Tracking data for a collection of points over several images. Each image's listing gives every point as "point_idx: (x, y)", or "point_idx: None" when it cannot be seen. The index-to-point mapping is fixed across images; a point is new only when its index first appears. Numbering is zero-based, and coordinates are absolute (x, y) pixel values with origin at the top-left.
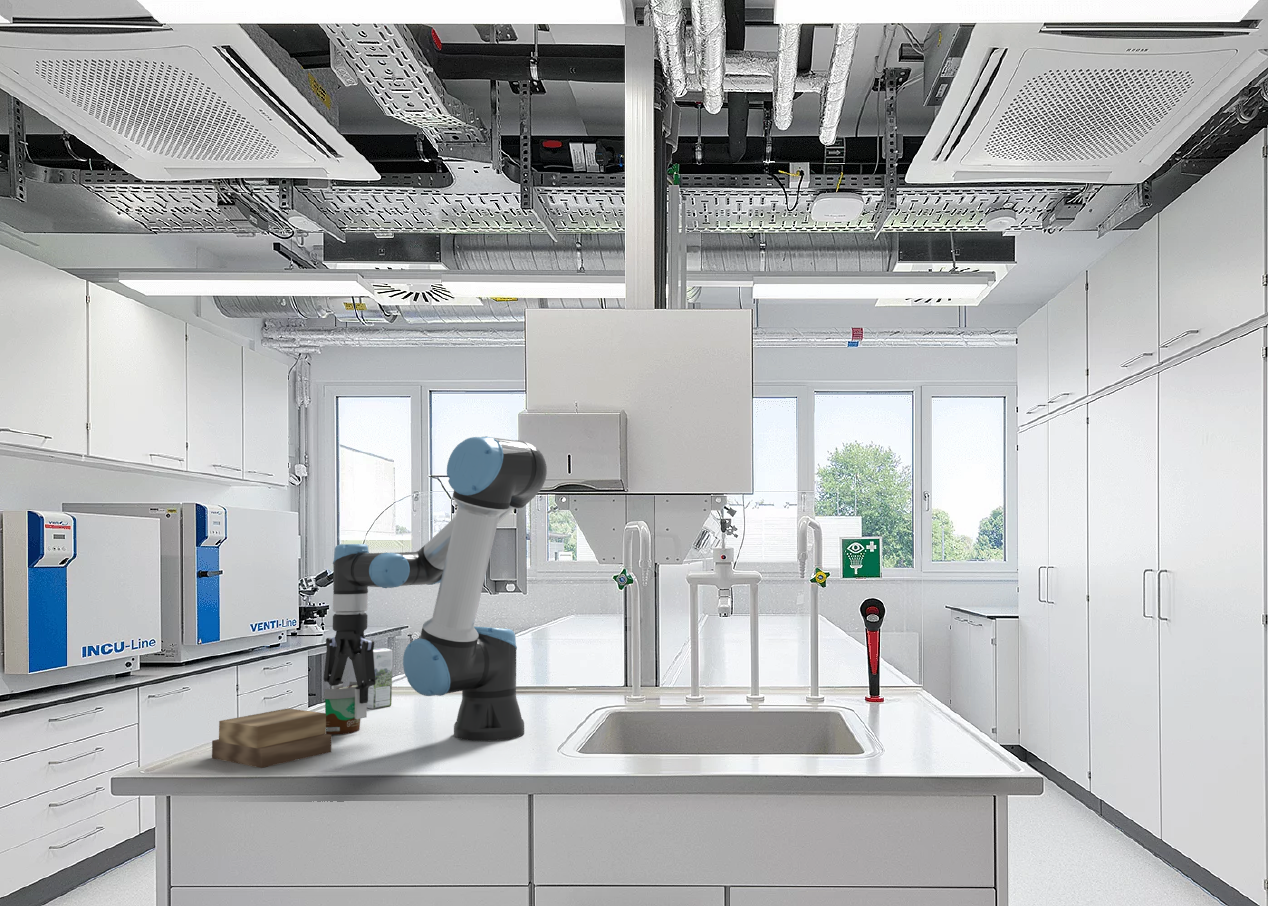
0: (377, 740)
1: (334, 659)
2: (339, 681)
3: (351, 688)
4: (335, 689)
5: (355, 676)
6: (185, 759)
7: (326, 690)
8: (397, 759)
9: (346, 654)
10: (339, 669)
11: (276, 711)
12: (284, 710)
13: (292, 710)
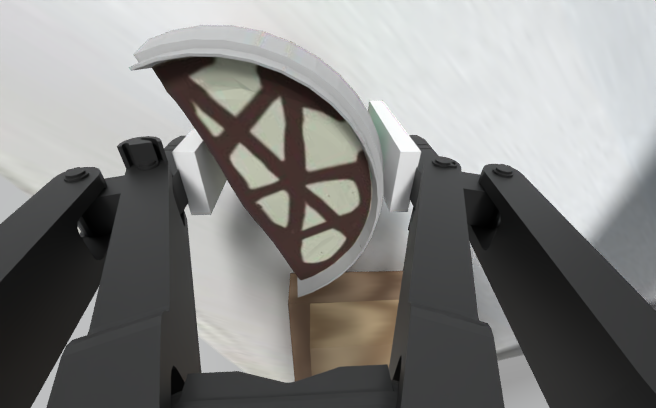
0: (485, 155)
1: (19, 321)
2: (171, 177)
3: (375, 223)
4: (337, 277)
5: (405, 256)
6: (270, 370)
7: (305, 290)
8: (622, 250)
9: (181, 374)
10: (183, 261)
11: (324, 370)
12: (329, 360)
13: (349, 354)
